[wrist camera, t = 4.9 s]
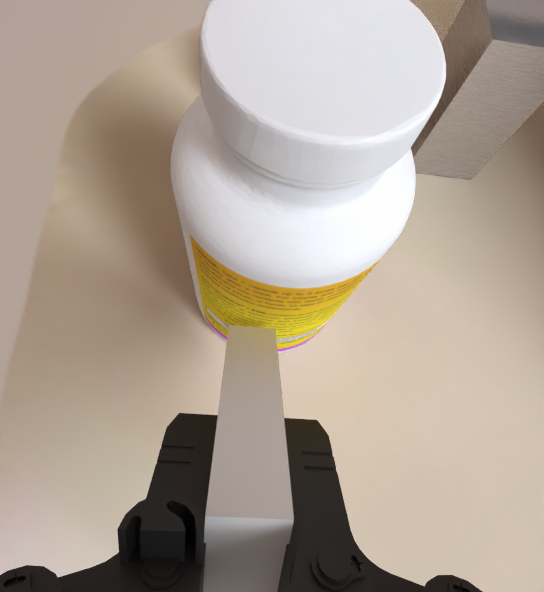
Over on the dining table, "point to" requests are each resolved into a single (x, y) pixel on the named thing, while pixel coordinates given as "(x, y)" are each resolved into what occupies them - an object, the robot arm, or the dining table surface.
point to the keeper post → (484, 85)
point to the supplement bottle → (300, 154)
